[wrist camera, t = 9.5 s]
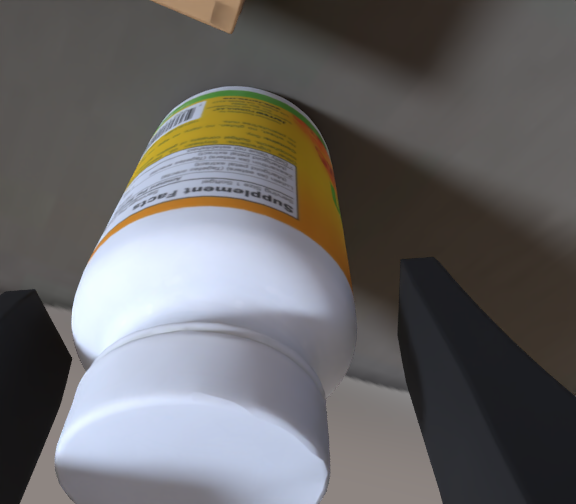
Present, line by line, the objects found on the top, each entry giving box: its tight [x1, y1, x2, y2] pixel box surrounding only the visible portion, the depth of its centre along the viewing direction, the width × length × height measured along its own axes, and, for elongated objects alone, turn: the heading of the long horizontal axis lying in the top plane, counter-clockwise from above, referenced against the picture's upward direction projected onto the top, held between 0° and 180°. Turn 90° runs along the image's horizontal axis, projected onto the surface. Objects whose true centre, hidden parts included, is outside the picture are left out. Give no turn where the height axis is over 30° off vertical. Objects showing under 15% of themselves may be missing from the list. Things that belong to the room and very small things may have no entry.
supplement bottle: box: [55, 86, 357, 504], centre depth 11 cm, size 5×5×10 cm
